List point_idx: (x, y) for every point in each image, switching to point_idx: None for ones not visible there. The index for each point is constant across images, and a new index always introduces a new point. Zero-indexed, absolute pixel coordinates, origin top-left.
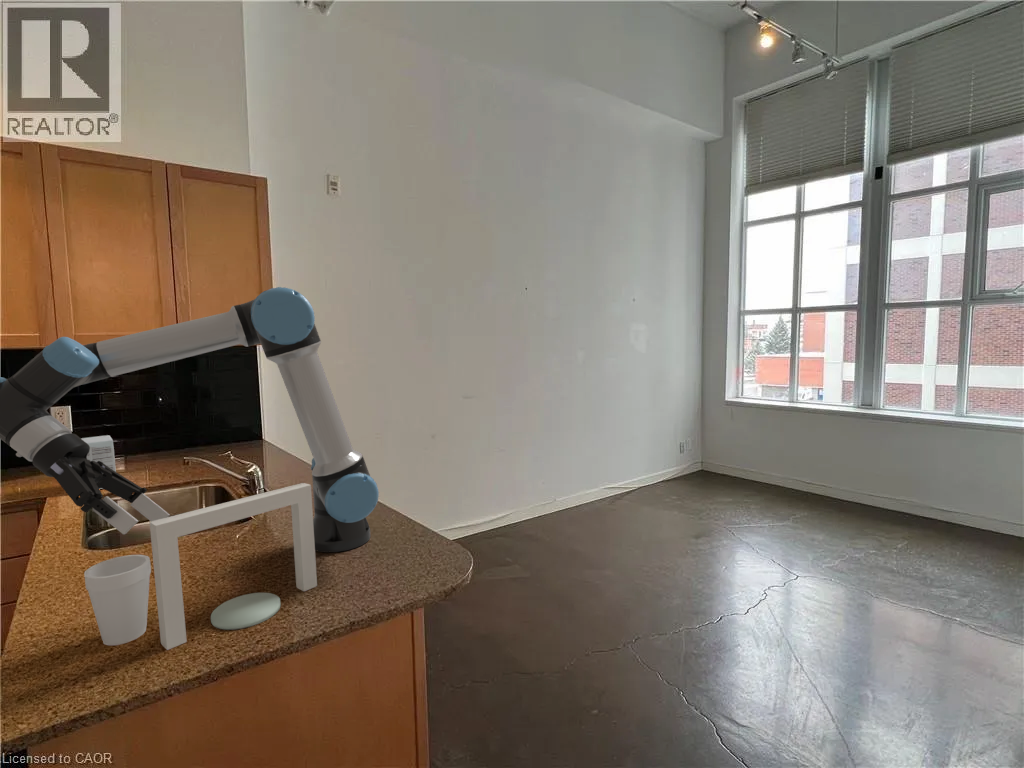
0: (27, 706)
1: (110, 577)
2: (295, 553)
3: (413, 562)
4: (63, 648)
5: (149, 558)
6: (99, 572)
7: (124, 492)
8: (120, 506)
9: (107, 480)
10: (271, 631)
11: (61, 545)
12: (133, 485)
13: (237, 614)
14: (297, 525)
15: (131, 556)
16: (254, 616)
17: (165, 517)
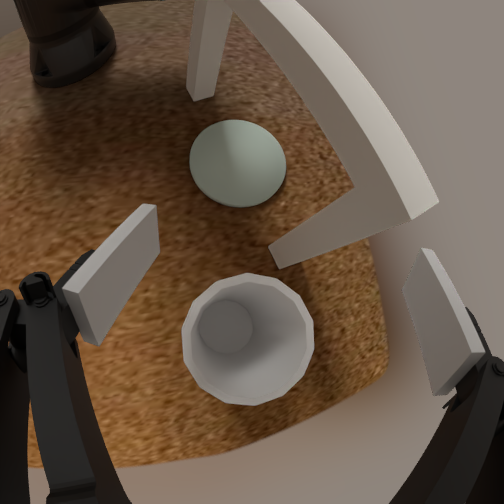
0: (349, 383)
1: (312, 338)
2: (201, 63)
3: None
4: None
5: (235, 276)
6: (218, 383)
7: (77, 379)
8: (449, 300)
9: (112, 496)
10: (305, 142)
11: None
12: (3, 341)
13: (253, 171)
14: (223, 20)
15: (193, 324)
16: (270, 152)
17: (156, 218)
